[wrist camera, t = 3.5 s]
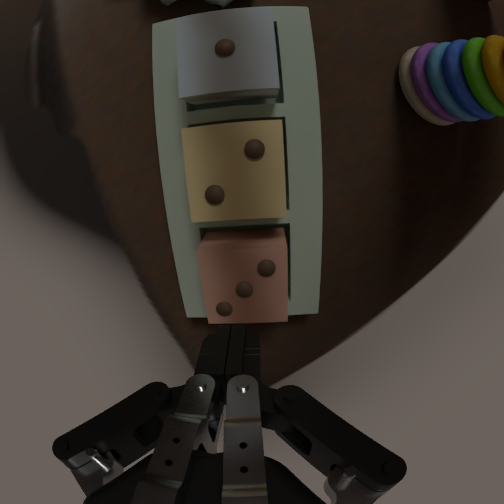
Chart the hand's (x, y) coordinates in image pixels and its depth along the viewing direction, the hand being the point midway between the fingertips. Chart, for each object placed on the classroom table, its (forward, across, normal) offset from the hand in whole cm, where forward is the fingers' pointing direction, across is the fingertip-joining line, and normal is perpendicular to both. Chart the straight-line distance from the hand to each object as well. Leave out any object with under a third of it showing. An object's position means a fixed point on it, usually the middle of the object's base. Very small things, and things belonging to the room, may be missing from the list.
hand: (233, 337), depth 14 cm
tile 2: (+9, 0, -8) cm, 12 cm away
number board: (+12, 0, -8) cm, 14 cm away
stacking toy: (+12, -18, -16) cm, 27 cm away
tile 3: (+9, 0, 0) cm, 9 cm away
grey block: (+9, 0, -16) cm, 18 cm away
